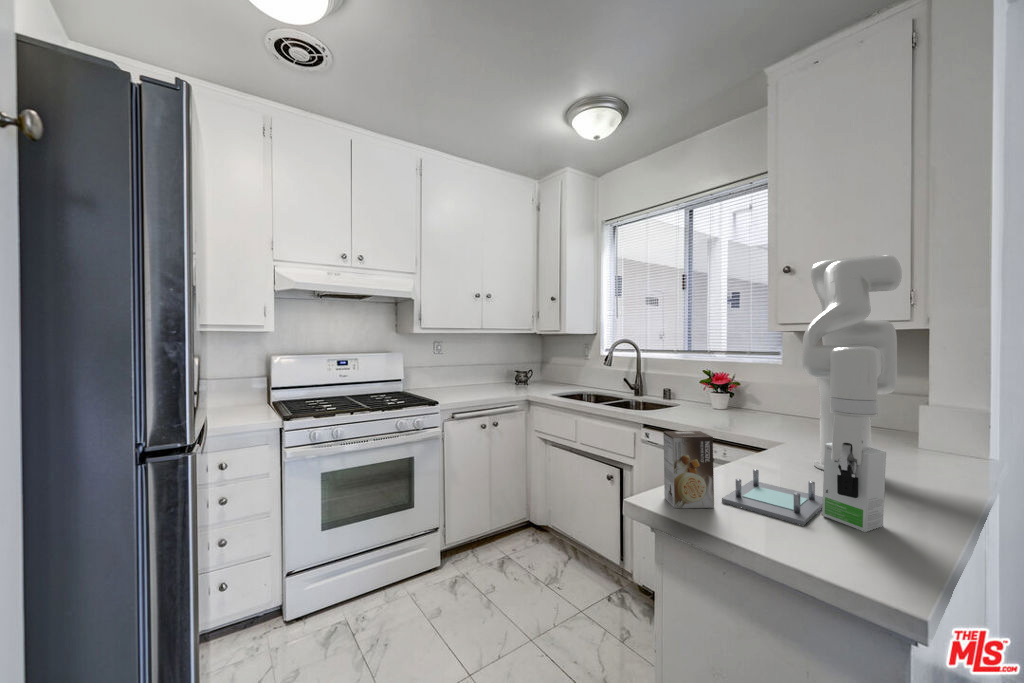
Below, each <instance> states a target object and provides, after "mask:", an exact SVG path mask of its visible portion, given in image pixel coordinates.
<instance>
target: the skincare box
mask: <svg viewBox="0 0 1024 683" xmlns="http://www.w3.org/2000/svg"><path fill="white" fill-rule="evenodd" d="M851 452H852V451H851ZM831 454H832V443H827V444H825V454H824V470H823V483H822V486H823V487H822V497H823V505H822V509H821V511H822V512H821V514H822V517H824V518H827V519H830V520H832V521H836V522H838V523H840V524H843V525H846V526H848V527H851V528H854V529H856V530H858V531H861V532H864V533H868V532H871V531H873V529H874V530H876V528H877V529H880V528H882V526H884V517H885V516H884V513H885V512H884V511H885V488H886V486H885V485H886V466H887V465H886V464H887V462H886V461H887V451H886V450H883V449H878V448H873V447H871V448H869V449H868V450H867V451H865V452H864V453H863V461H862V465H861V466H858V468H857V475H856V477H858V498H852V497H848V496H843V495H839V494H838V493H837V474H838V466H839V460H838V461H837V462H833V461H832V459H831ZM849 461H854V462H855V458H854V459H849ZM851 467H852V469H853V466H851ZM879 527H880V528H879ZM870 530H871V531H870ZM867 531H868V532H867Z"/></svg>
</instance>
